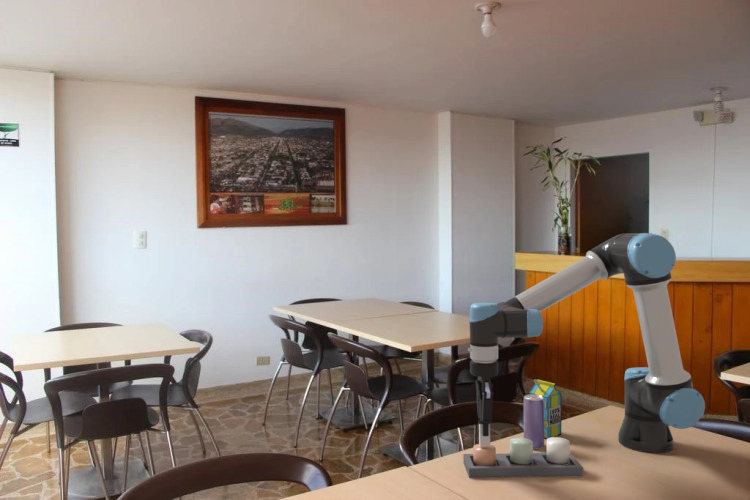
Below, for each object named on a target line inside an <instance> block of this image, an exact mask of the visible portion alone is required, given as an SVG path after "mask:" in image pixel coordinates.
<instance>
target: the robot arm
mask: <svg viewBox="0 0 750 500" xmlns="http://www.w3.org/2000/svg"><path fill="white" fill-rule="evenodd" d="M676 255H677V253H676V251H675V248H674V246H673V245H672V243H671V242H670V241H669V240H668V239H667V238H665V237H664V236H662V235H659V234H655V233H651V232H638V233H637V232H635V233H633V232H632V233H630V232H626V233H621V234H617V235H615V236H613V237H611V238H609V239H607V240H606V241H603V242H602V243H600V244H599V245H597V246H595V247H593V248H591V249H590V250H588V251H587V252H586V254H585V257H583V258H581V259H579V260H578V261H576V262H574V263H572V264H570V265H568V266H567V267H565V268H563V269H562V270H560V271H558V272H556V273H554V274H553V275H550V276H549V277H547V278H546V279H544V280H541V281H540V282H538V283H536V284H535V285H533V286H531V287H529V288H528V289H526V290H524V291H522V292H520V293H519V294H517V295H515V296H514V297H512V298H509V299H508V300H506V301H500V302H496V303H494V302H481V301H480V302H475V303H472V304H471V305H470V307H469V317H468V318H469V319H468V321H469V346H470V347H468V348H467V352H469V357H470V361H469V374H470V375H471V376H473V377H477V379H476V380H475V387H476V406H477V413H476V414H477V417H478V420H477V424H478V440H479V441H478V442H479V443H478V444H479V446H480V447H490V445H491V424H492V423H493V402H494V401H493V400H494V395H495V394H494V391H493V388H494V385H493V382H492V381H491V378H494V377H496V376H498V375H499V362H498V359H499V339H504V338H528V339H529V338H532V337H533V338H535V337H539V336H540V335H541V334H542V333H543V329H544V319H543V315H542V312H543V311H544V310H546V309H548V308H550V307H552V306H553V305H555V304H557V303H559V302H561V301H563V300H564V299H566V298H568V297H570V296H572V295H573V294H575V293H577V292H578V291H581V290H582V289H585V288H586V287H588V286H590V285H591V284H592V283H595V282H596V281H599V280H603V281H605V280H607V279H609V278H610V277H612V276H616V275H622V274H623V277H624V281H625V282H624V283H625V286H627V287H628V288H629V289H631V290H632V291H633V292H632V294H633V296H634V302H635V307H636V311H637V312H636V313H637V317H638V321H639V326H640V327H639V328H640V333H641V336H642V337H641V338H642V342H643V347H644V351H645V356H646V361H647V366H648V367H647V366H644V367H640V366H639V367H630V368H627V369H626V370H625V372H624V380H623V381H624V417H623V420H622V423H621V425H620V428H619V431H618V438H617V439H618V443H620V444H621V445H622V446H624V447H626V448H627V449H631V450H634V451H637V452H638V451H639V452H644V453H645V452H646V453H651V454H652V453H654V454H655V453H656V454H657V453H668V452H670V451H672V450H673V449H674V437H673V435H672V432H671V429H670V427H672V428H674V429H678V430H685V429H690V428H691V427H694V426H695V425H696V424H697V423H698V422H700V419H702V418H703V415H704V414H705V409H706V402H705V400H704V397H703V396H702V394H701V393H700V392H699V391H698V390H697V389H694V385H693V379H692V375H691V374H690V373H689V372H688V371H687V370H685V369H684V366H683V361H682V357H681V351H680V345H679V341H678V336H677V331H676V327H675V326H676V325H675V320H674V316H673V315H674V314H673V311H672V305H671V301H670V295H669V290H668V284H669V283H670V282H671V281H672V274H671V272H672V270H673V267H674V266H675V265H676V261H677V256H676Z"/></svg>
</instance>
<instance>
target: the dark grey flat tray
mask: <svg viewBox="0 0 750 500" xmlns="http://www.w3.org/2000/svg"><path fill="white" fill-rule="evenodd" d="M462 458H463V465H464V468H465V471H466V473H467V476H468V478H470V479H472V478H474V479H478V478H479V479H480V478H484V479H485V478H486V479H487V478H564V477H565V478H566V477H567V478H568V477H569V478H570V477H571V478H573V477H574V478H576V477H579V478H582V477H584V466H583V465H582V464H581V463H580V462H579V461H578V460H577V458H575V456H574V455H573V454H572V453H571V452H570V461H569V462H568V463H564V464H558V463H553V462H550V461H548V460H547V452H540V453H539V452H533V461H532V462H531V463H529V464H525V465H519V464H518V463H514V462H512V461H511V460H510V452H508V453H496V466H474V465H473V453H463V456H462Z"/></svg>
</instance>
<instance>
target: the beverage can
mask: <svg viewBox="0 0 750 500" xmlns="http://www.w3.org/2000/svg"><path fill="white" fill-rule="evenodd" d="M523 438H526V439H530V440H531V441H532V442H533V450H542V449H543V447H544V446H545V439H544V399H543V397H542V396H540V395H534V394H530V395H529V394H525V395H524V396H523Z"/></svg>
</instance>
